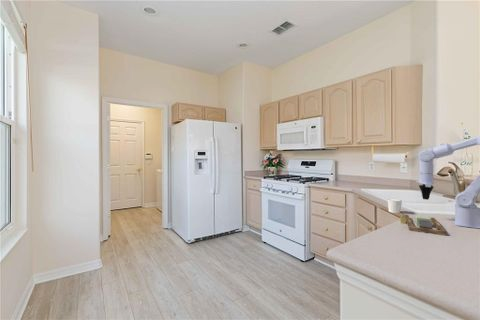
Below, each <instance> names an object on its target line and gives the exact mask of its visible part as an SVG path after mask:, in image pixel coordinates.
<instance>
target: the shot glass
mask: <svg viewBox="0 0 480 320" xmlns="http://www.w3.org/2000/svg"><path fill="white" fill-rule="evenodd" d="M402 204H403V203H402V200H401V199H396V198H388V199H387V207H388V212H389V213H392V214H401V210H402Z"/></svg>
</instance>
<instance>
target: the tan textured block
mask: <svg viewBox="0 0 480 320" xmlns="http://www.w3.org/2000/svg"><path fill="white" fill-rule="evenodd" d="M400 214H401V215H400V216H399V218H400V220H399V222H400V224H405V225H407V222H406V218H405V215H406V214H405V213H400Z"/></svg>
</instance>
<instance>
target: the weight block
mask: <svg viewBox="0 0 480 320" xmlns="http://www.w3.org/2000/svg"><path fill="white" fill-rule="evenodd" d="M418 227H420V228H428V229H433V223H432V222H431V221H427V220H419V226H418Z"/></svg>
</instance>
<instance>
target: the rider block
mask: <svg viewBox="0 0 480 320" xmlns="http://www.w3.org/2000/svg"><path fill="white" fill-rule="evenodd" d="M414 216H415V217H414V223H415V225H416V227H419V220H427V221H431V217H429V216H426V215H425V216H424V215H418V214H415V215H414Z"/></svg>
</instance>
